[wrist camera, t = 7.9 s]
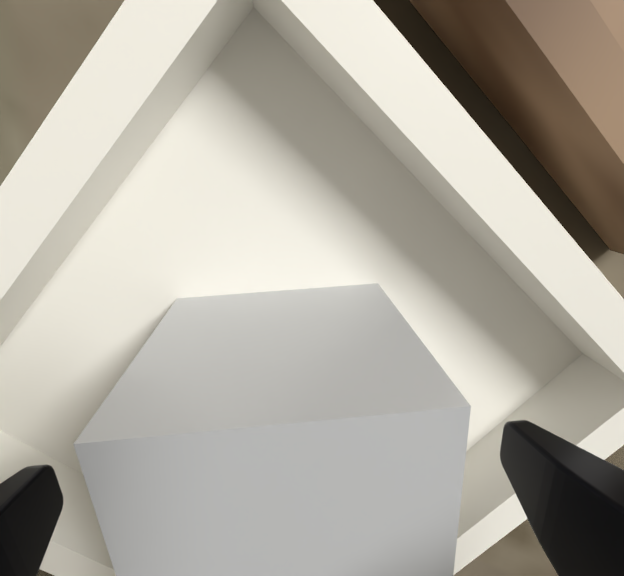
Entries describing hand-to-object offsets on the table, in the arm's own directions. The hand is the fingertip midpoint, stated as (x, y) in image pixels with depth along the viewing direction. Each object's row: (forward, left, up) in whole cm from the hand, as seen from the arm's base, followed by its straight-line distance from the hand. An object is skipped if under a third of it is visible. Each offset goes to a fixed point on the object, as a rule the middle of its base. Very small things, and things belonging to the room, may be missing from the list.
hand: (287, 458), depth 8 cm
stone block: (0, 0, -3) cm, 3 cm away
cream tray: (0, 0, -4) cm, 4 cm away
